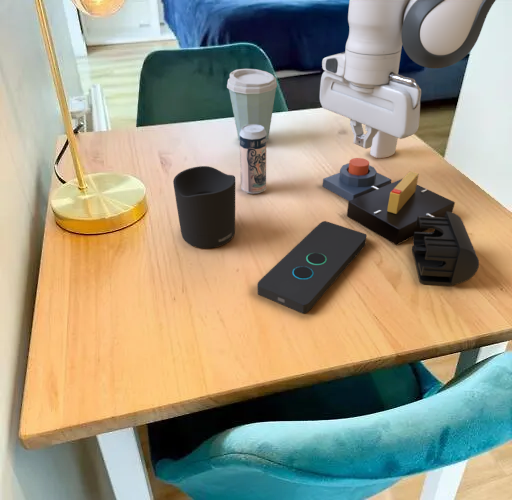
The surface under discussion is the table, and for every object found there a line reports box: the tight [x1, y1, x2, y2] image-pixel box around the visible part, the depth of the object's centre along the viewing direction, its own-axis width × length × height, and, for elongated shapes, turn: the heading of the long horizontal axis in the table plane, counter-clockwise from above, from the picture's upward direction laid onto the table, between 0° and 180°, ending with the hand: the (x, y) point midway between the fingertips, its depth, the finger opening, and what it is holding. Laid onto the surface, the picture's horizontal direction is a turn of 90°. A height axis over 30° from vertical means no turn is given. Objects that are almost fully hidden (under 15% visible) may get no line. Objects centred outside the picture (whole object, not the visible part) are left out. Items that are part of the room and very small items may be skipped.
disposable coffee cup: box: [226, 68, 278, 144], centre depth 109 cm, size 11×11×15 cm
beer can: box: [239, 124, 267, 195], centre depth 92 cm, size 5×5×12 cm
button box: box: [322, 162, 392, 201], centre depth 95 cm, size 10×8×4 cm
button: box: [348, 157, 370, 176], centre depth 93 cm, size 4×4×2 cm
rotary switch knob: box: [387, 171, 420, 214], centre depth 84 cm, size 9×2×4 cm, turn 146°
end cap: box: [411, 211, 480, 287], centre depth 73 cm, size 10×7×7 cm
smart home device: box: [257, 220, 368, 314], centre depth 75 cm, size 8×2×20 cm
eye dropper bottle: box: [369, 131, 399, 159], centre depth 104 cm, size 4×6×12 cm
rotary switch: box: [346, 178, 456, 246], centre depth 86 cm, size 14×13×3 cm
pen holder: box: [172, 165, 236, 249], centre depth 80 cm, size 9×9×10 cm
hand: (362, 145), depth 91 cm, fingers closed
